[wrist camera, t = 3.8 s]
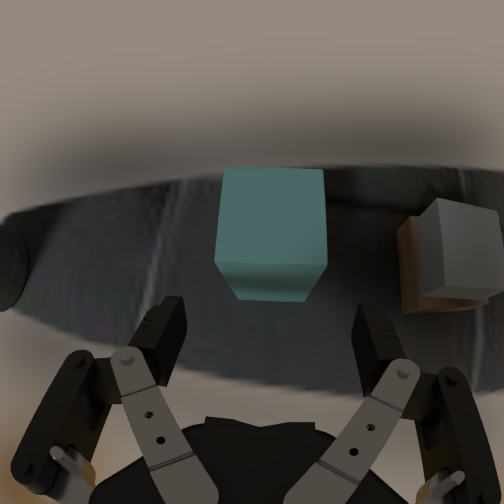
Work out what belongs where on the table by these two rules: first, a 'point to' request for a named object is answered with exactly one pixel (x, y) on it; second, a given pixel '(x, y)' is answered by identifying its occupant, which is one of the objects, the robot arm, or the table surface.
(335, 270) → the table surface
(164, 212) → the table surface
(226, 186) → the block
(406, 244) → the tower base
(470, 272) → the tower top
